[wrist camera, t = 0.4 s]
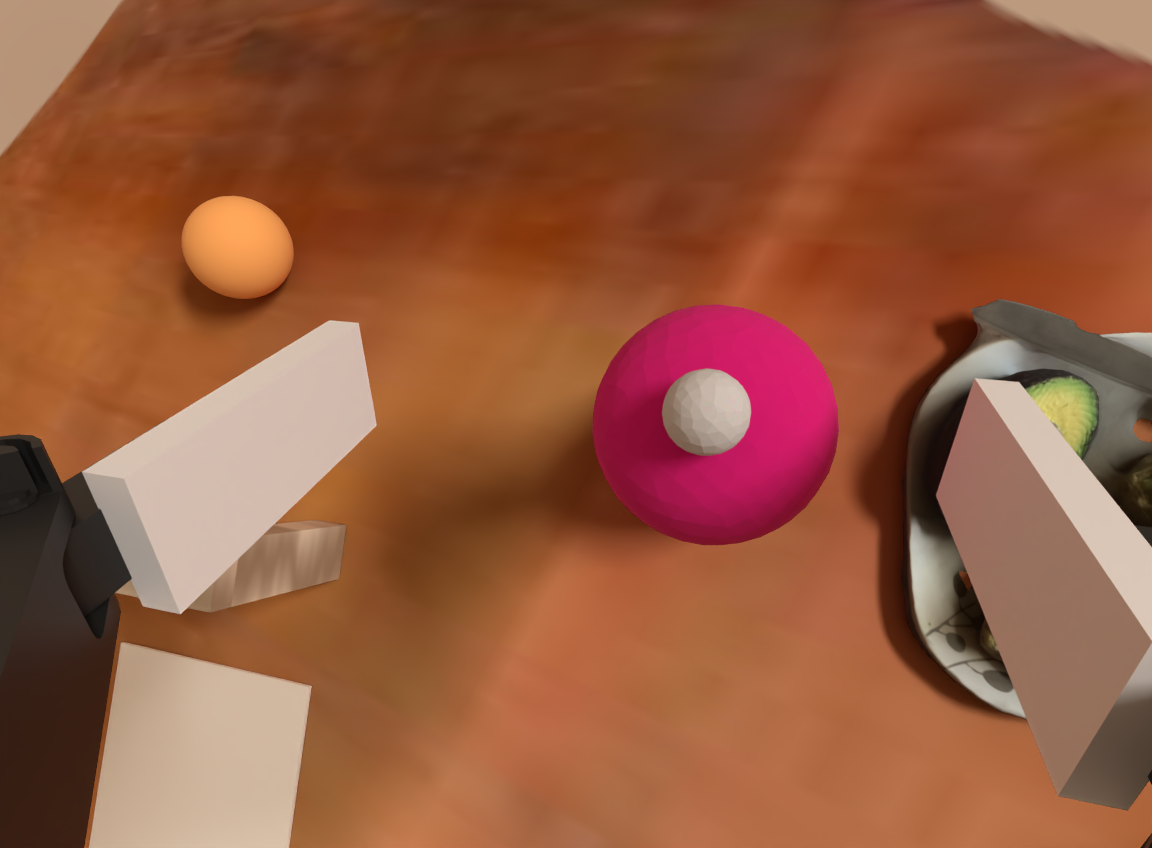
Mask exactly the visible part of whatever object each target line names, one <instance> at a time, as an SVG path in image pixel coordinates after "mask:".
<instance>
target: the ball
mask: <svg viewBox="0 0 1152 848" xmlns="http://www.w3.org/2000/svg"><path fill="white" fill-rule="evenodd" d="M182 250H183V254H184V258H185V260H186V262H187V265H188V266H189V268H190V270H191V271H192V272H193V274H194V275H195V276H196V277H197V278H198V279H199V280H200V281H201V282H202V283H203V284H204V285H205V286H207V287H208V288H210V289H211V290H213V291H215V292H217V293H219V294H221V295H224V296H228V297H231V298H238V299H251V298H257V297H260V296H264V295H266V294H268V293H270V292H272V291H274V290H275V289H277V288H278V287H279V286H280V285H281V284H282V283H283V282H284V281H285V279H286V278H287V276H288V274H289V272H290V270H291V267H292V264H293V258H294V250H293V243H292V239H291V236H290V234H289V232H288V229H287V228H286V226H285V225H284V223H283V222H282V220H281V219H280V218H279V217H278V216H277V215H276V214H275V213H274V212H273V211H272V210H270V209H269V208H267V207H266V206H264V205H263V204H261V203H259V202H257V201H254V200H252V199H248V198H245V197H238V196H222V197H217V198H214V199H211V200H208V201H206V202H205V203H203V204H201V205H200V206H198V207H197V208H196V209H195V210H194V211H193V212H192V213H191V215H190V216H189V218H188V219H187V221H186V223H185V225H184V229H183V233H182Z"/></svg>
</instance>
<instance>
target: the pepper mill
mask: <svg viewBox="0 0 1152 848" xmlns="http://www.w3.org/2000/svg"><path fill="white" fill-rule="evenodd" d="M838 432H839V426H838V408H837V404H836V400H835V396H834V392H833V387H832V385H831V382H830V380H829V378H828V376H827V374H826V372H825V370H824V368H823V365H822V364H821V362H820V361H819V360H818V358H817V357H816V356H815V354H814V353H813V352H812V350H811V349H810V347H809V346H808V345H807V344H806V343H805V342H804V341H803V340H802V339H801V338H799V337H798V336H797V335H796V334H795V333H793V332H792V331H791V330H790V329H789V328H787V327H786V326H785V325H783V324H781V323H779V322H777V321H775V320H773V319H771V318H769V317H767V316H765V315H763V314H760V313H758V312H755V311H751V310H748V309H745V308H740V307H733V306H725V305H700V306H693V307H689V308H685V309H681V310H677V311H674V312H671V313H669V314H667V315H665V316H662V317H660V318H658V319H656V320H654V321H653V322H651V323H650V324H648V325H647V326H645V327H644V328H642V329H641V330H639V331H638V332H637V333H636V334H635V335H634V336H633V337H632V338H631V339H629V340H628V341H627V342H626V343H625V344H624V345H623V346H622V348H621V349H620V350H619V352H618V353H617V354H616V356H615V357H614V358H613V360H612V361H611V363H610V365H609V367H608V369H607V371H606V373H605V375H604V377H603V379H602V381H601V383H600V386H599V388H598V391H597V395H596V400H595V405H594V412H593V441H594V446H595V451H596V456H597V459H598V462H599V464H600V467H601V469H602V472H603V474H604V477H605V479H606V480H607V482H608V483H609V485H610V487H611V488H612V490H613V492H614V493H615V495H616V497H617V498H618V499H619V500H620V501H621V502H622V503H623V504H624V505H625V506H626V508H627V509H628V510H629V511H630V512H632V513H633V514H634V515H635V516H636V517H638V518H639V519H640V520H641V521H642V522H643V523H645V524H646V525H648V526H650V527H651V528H653V529H655V530H657V531H658V532H660V533H662V534H664V535H667V536H670V537H672V538H675V539H678V540H681V541H684V542H690V543H695V544H701V545H725V544H734V543H741V542H745V541H748V540H752V539H755V538H759V537H761V536H764V535H766V534H768V533H770V532H772V531H774V530H776V529H778V528H780V527H781V526H783V525H784V524H786V523H787V522H789V521H790V520H792V519H793V518H794V517H795V516H796V515H797V514H798V513H800V512H801V511H802V510H803V509H804V508H805V507H806V506H807V505H808V503H809V502H810V501H811V500H812V498H813V497H814V496H815V495H816V493H817V491H818V490H819V488H820V486H821V485H822V483H823V481H824V480H825V478H826V476H827V475H828V473H829V471H830V468H831V465H832V462H833V459H834V456H835V453H836V447H837V440H838Z"/></svg>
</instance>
